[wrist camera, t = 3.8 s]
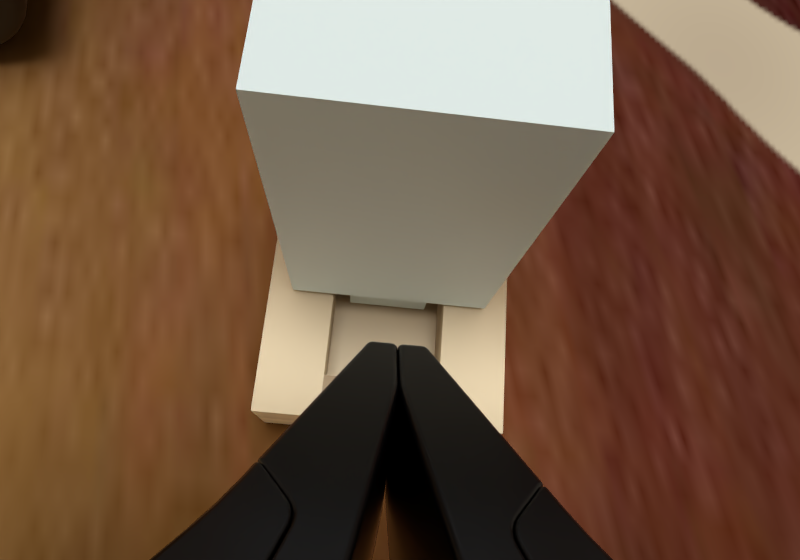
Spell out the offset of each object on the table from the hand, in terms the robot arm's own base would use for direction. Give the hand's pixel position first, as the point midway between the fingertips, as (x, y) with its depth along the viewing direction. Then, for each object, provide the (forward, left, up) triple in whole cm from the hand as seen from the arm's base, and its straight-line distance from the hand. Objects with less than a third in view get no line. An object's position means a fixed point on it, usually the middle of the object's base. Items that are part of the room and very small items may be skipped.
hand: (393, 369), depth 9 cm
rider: (+5, -1, -7) cm, 9 cm away
